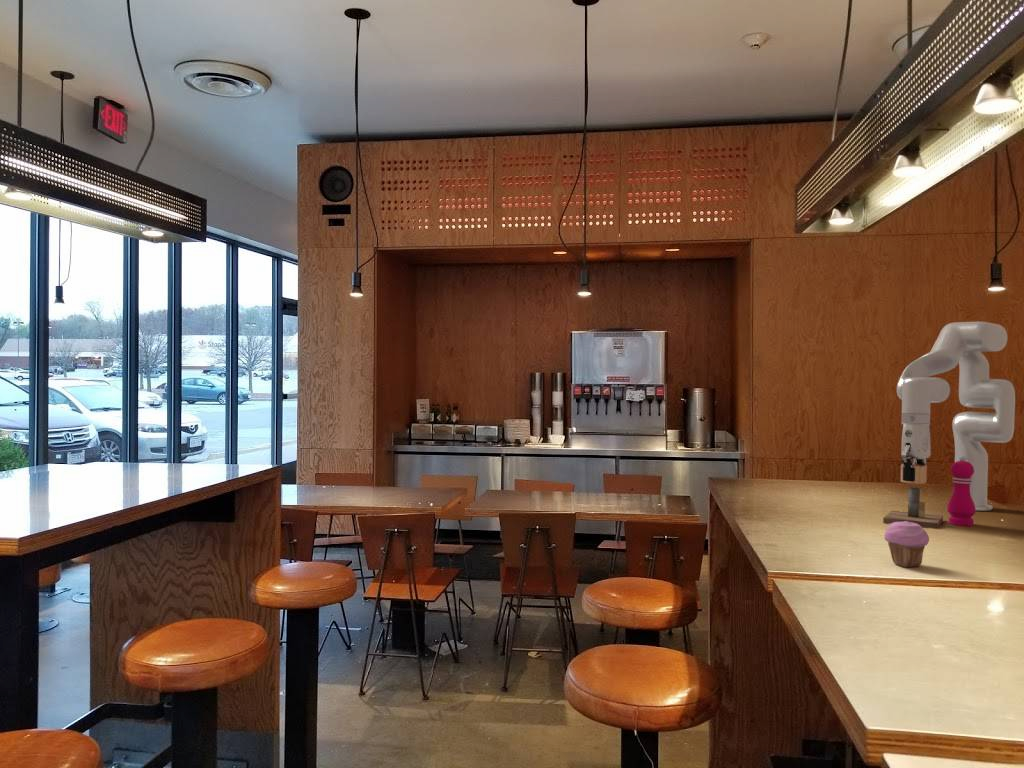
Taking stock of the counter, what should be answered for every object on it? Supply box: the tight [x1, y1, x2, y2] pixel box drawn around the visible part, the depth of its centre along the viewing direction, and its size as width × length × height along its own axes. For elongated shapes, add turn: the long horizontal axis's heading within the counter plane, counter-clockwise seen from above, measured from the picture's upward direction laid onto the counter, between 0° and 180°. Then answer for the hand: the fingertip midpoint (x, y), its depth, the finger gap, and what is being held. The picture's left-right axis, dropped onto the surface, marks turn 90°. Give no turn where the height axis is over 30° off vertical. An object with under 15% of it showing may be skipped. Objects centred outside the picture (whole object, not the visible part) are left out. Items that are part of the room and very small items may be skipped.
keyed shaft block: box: [882, 486, 944, 529], centre depth 240 cm, size 16×14×10 cm
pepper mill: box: [946, 456, 977, 527], centre depth 237 cm, size 7×7×20 cm
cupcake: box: [884, 521, 930, 568], centre depth 183 cm, size 9×9×10 cm
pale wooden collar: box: [900, 463, 928, 485], centre depth 240 cm, size 7×7×5 cm
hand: (914, 479), depth 240 cm, fingers closed on pale wooden collar, 7 cm apart
